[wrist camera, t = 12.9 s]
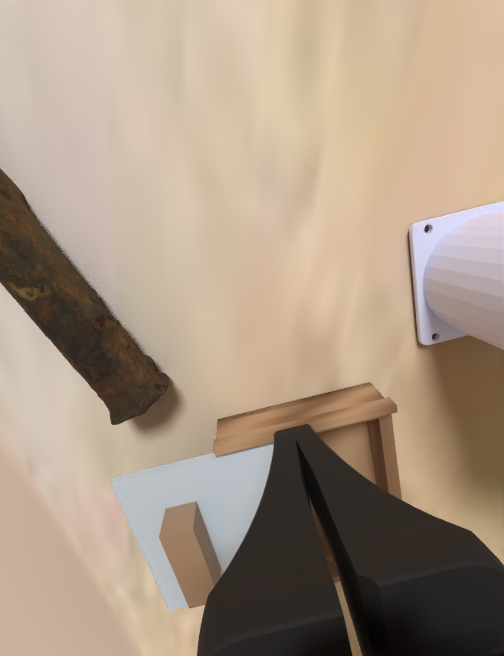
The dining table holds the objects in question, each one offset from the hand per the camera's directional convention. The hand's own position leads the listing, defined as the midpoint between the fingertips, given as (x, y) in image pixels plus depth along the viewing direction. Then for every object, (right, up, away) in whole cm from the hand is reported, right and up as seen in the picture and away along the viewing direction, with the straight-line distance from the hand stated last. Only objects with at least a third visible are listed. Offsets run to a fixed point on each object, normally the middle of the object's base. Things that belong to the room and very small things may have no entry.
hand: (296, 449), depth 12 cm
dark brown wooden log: (-14, +8, +7) cm, 18 cm away
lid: (-3, -9, +10) cm, 13 cm away
